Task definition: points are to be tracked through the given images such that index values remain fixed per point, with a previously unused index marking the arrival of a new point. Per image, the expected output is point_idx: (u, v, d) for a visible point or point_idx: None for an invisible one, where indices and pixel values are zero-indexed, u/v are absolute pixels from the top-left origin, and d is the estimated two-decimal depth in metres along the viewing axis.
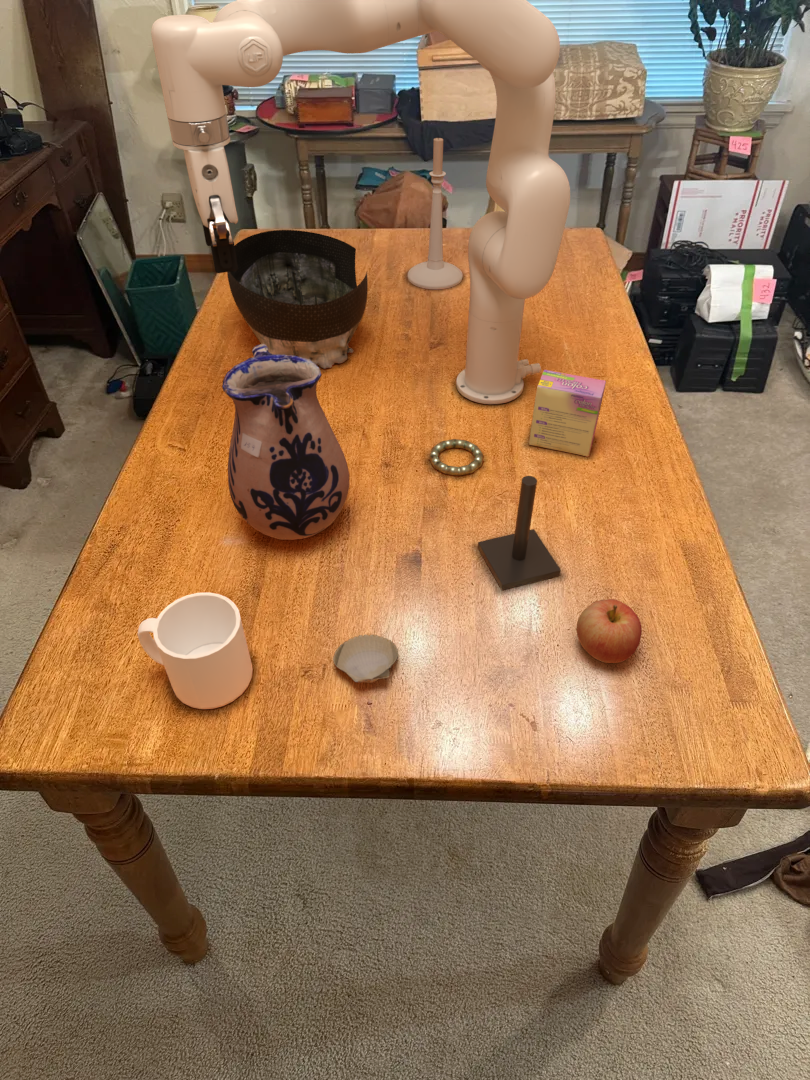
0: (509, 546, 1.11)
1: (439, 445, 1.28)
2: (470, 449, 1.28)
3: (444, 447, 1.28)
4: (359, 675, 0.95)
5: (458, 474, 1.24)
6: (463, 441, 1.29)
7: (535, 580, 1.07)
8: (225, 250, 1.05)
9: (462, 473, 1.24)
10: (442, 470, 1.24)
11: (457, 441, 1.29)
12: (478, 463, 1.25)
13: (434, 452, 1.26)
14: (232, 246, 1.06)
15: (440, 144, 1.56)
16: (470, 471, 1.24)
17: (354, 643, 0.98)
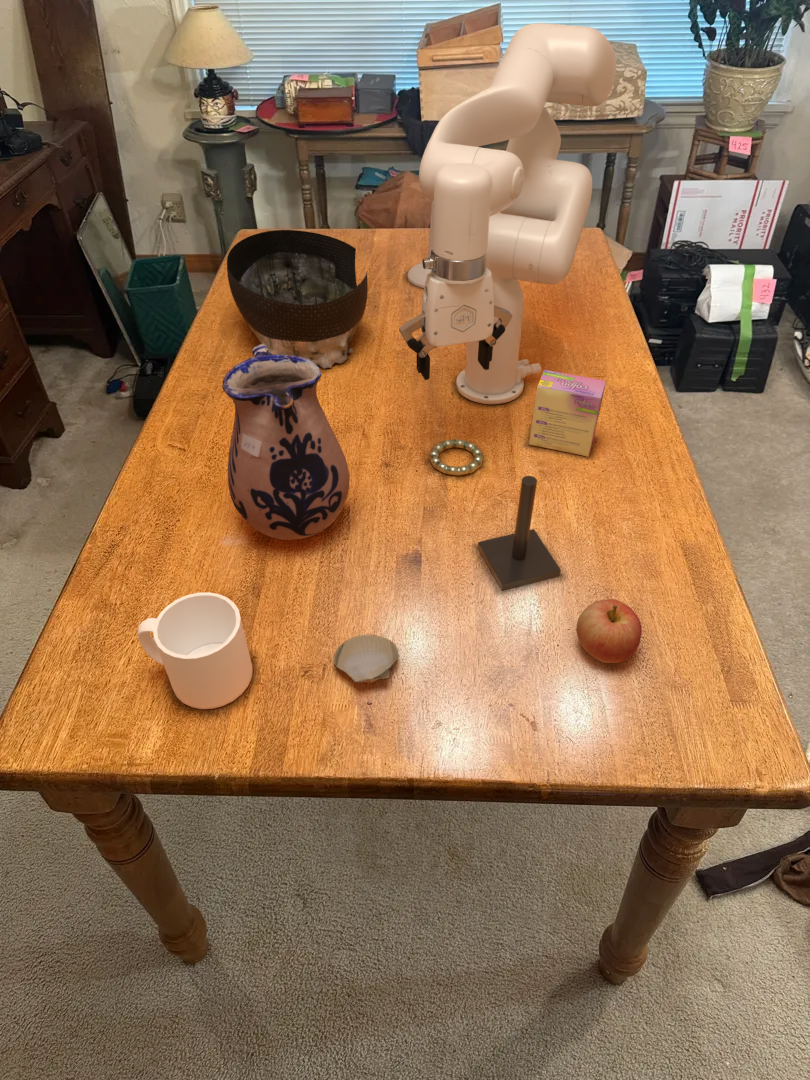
0: (509, 546, 1.11)
1: (439, 445, 1.28)
2: (470, 449, 1.28)
3: (444, 447, 1.28)
4: (359, 675, 0.95)
5: (458, 474, 1.24)
6: (463, 441, 1.29)
7: (535, 580, 1.07)
8: (418, 357, 1.14)
9: (462, 473, 1.24)
10: (442, 470, 1.24)
11: (457, 441, 1.29)
12: (478, 463, 1.25)
13: (434, 452, 1.26)
14: (425, 359, 1.13)
15: None
16: (470, 471, 1.24)
17: (354, 643, 0.98)
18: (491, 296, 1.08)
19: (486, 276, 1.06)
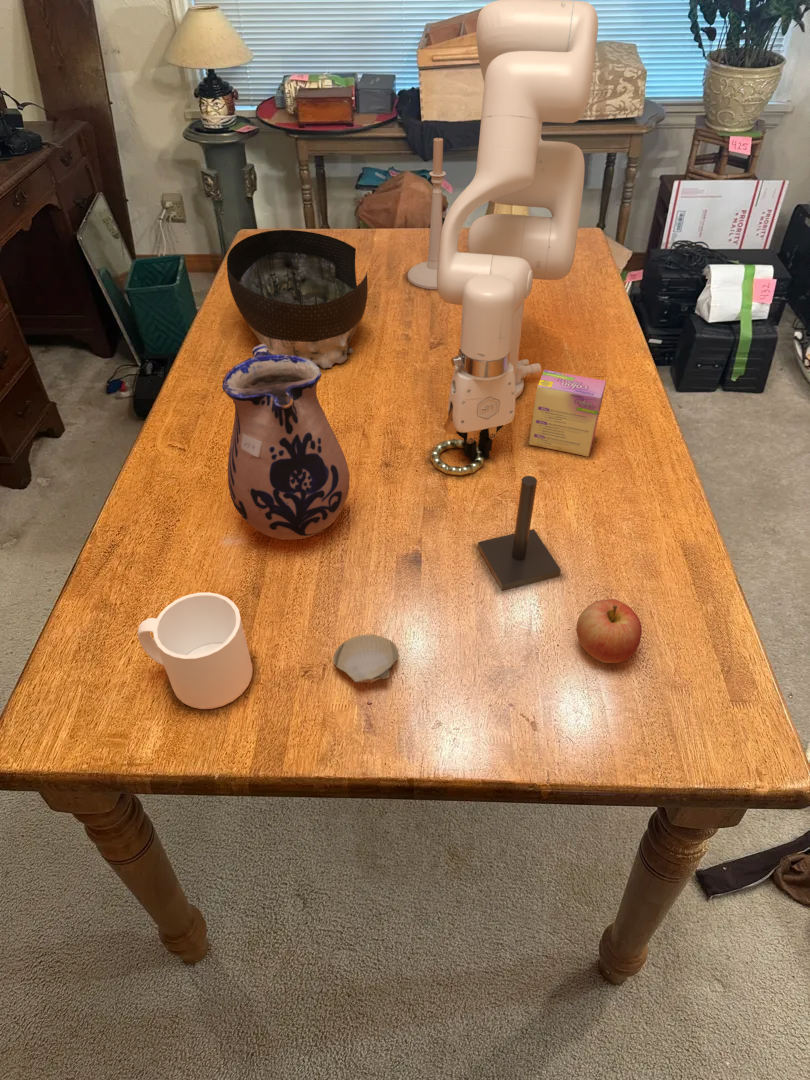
0: (509, 546, 1.11)
1: (440, 445, 1.28)
2: None
3: (445, 447, 1.28)
4: (359, 675, 0.95)
5: (459, 474, 1.24)
6: None
7: (535, 580, 1.07)
8: (466, 443, 1.25)
9: (463, 473, 1.24)
10: (443, 470, 1.24)
11: (458, 441, 1.29)
12: (479, 463, 1.25)
13: (435, 452, 1.26)
14: (472, 445, 1.24)
15: (440, 144, 1.56)
16: (471, 471, 1.24)
17: (354, 643, 0.98)
18: (514, 387, 1.17)
19: (509, 371, 1.15)
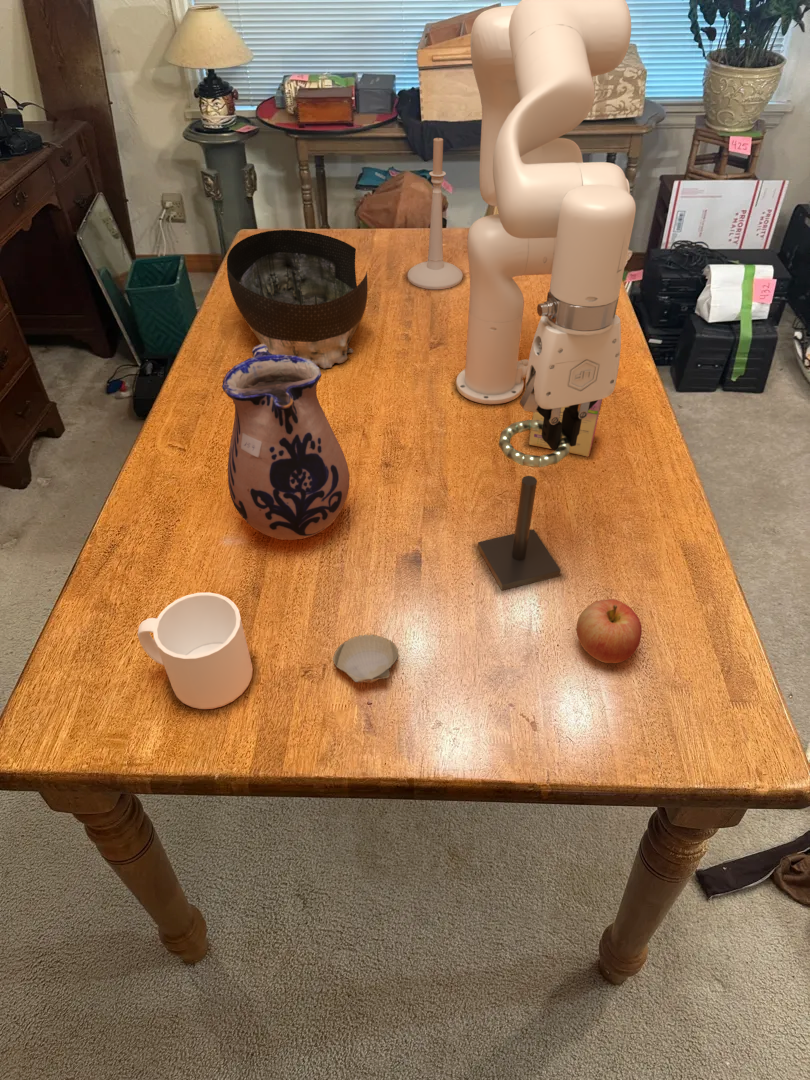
0: (509, 546, 1.11)
1: (511, 428, 0.97)
2: None
3: (517, 430, 0.97)
4: (359, 675, 0.95)
5: (539, 465, 0.93)
6: (542, 422, 0.98)
7: (535, 580, 1.07)
8: (547, 424, 0.94)
9: (545, 464, 0.93)
10: (518, 461, 0.93)
11: (534, 422, 0.98)
12: (565, 451, 0.94)
13: (505, 437, 0.95)
14: (556, 427, 0.93)
15: (440, 144, 1.56)
16: (555, 461, 0.93)
17: (354, 643, 0.98)
18: (619, 347, 0.87)
19: (615, 323, 0.84)
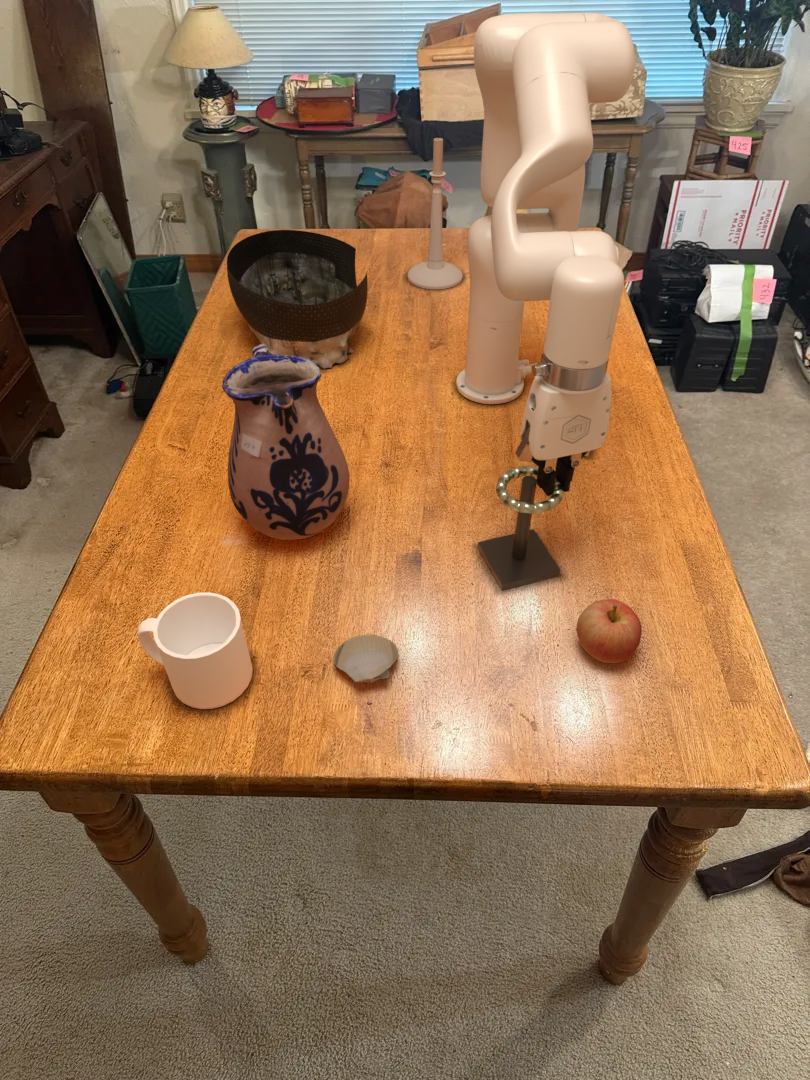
0: (509, 546, 1.11)
1: (507, 474, 1.02)
2: None
3: (513, 476, 1.02)
4: (359, 675, 0.95)
5: (534, 513, 0.97)
6: (537, 469, 1.02)
7: (535, 580, 1.07)
8: (541, 472, 0.99)
9: (539, 511, 0.97)
10: (514, 508, 0.98)
11: (529, 469, 1.03)
12: (559, 498, 0.98)
13: (502, 484, 1.00)
14: (550, 475, 0.98)
15: (440, 144, 1.56)
16: (549, 508, 0.98)
17: (354, 643, 0.98)
18: (609, 403, 0.91)
19: (605, 382, 0.89)
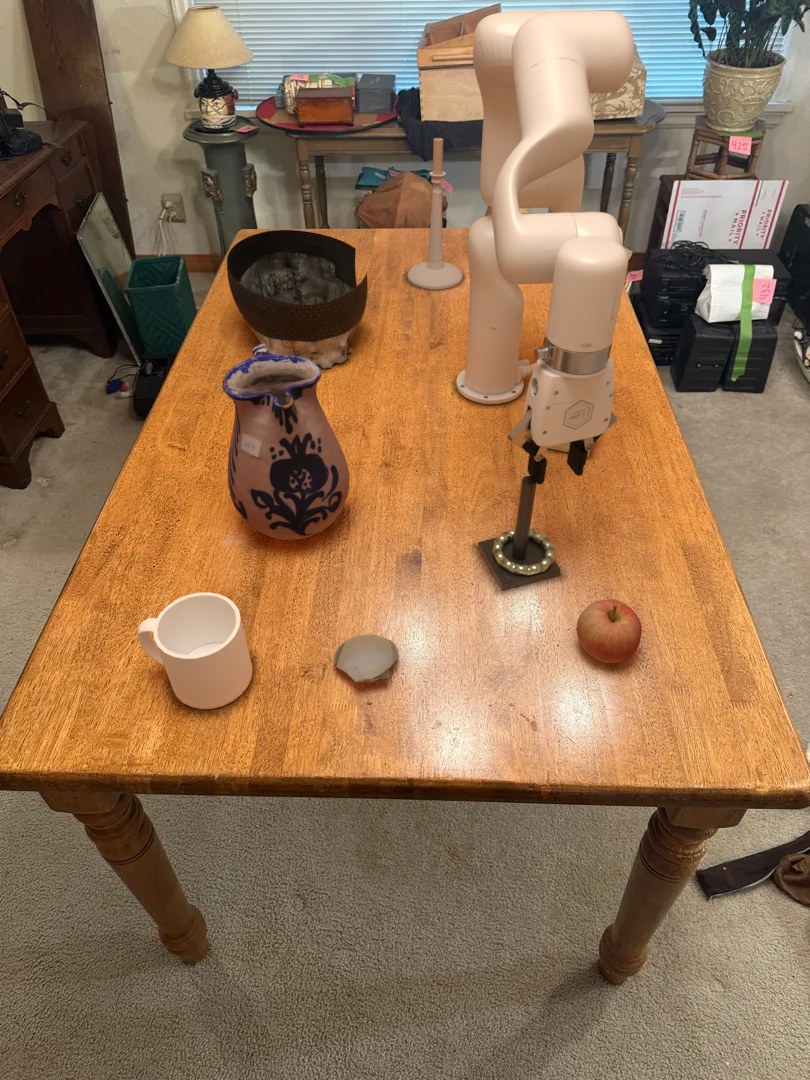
0: (509, 546, 1.11)
1: (503, 536, 1.10)
2: (539, 541, 1.10)
3: (509, 538, 1.11)
4: (359, 675, 0.95)
5: (528, 574, 1.06)
6: (530, 531, 1.11)
7: (535, 580, 1.07)
8: (532, 460, 0.97)
9: (532, 573, 1.06)
10: (509, 569, 1.06)
11: None
12: (550, 560, 1.07)
13: (498, 546, 1.09)
14: (541, 463, 0.96)
15: (440, 144, 1.56)
16: (542, 570, 1.06)
17: (354, 643, 0.98)
18: (612, 388, 0.90)
19: (609, 366, 0.88)
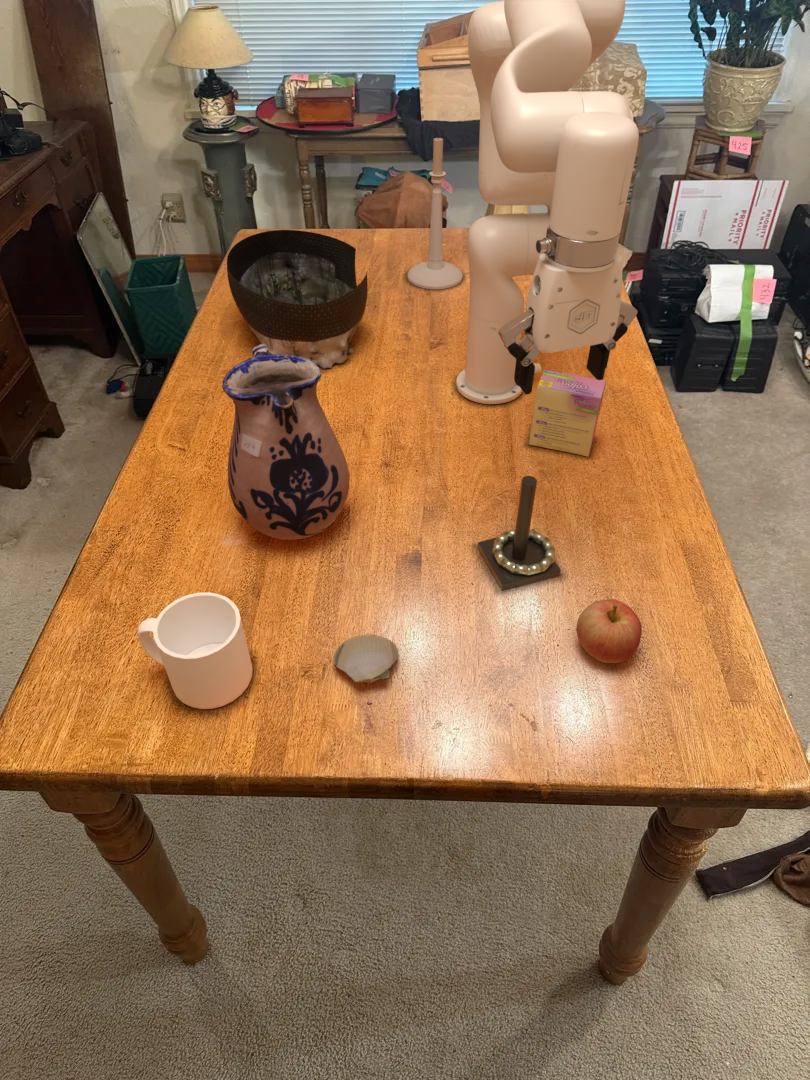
0: (509, 546, 1.11)
1: (503, 536, 1.10)
2: (539, 541, 1.10)
3: (509, 538, 1.11)
4: (359, 675, 0.95)
5: (528, 574, 1.06)
6: (530, 531, 1.11)
7: (535, 580, 1.07)
8: (519, 366, 0.90)
9: (532, 573, 1.06)
10: (509, 569, 1.06)
11: None
12: (550, 560, 1.07)
13: (498, 546, 1.09)
14: (528, 369, 0.89)
15: (440, 144, 1.56)
16: (542, 570, 1.06)
17: (354, 643, 0.98)
18: (620, 287, 0.84)
19: (616, 262, 0.82)
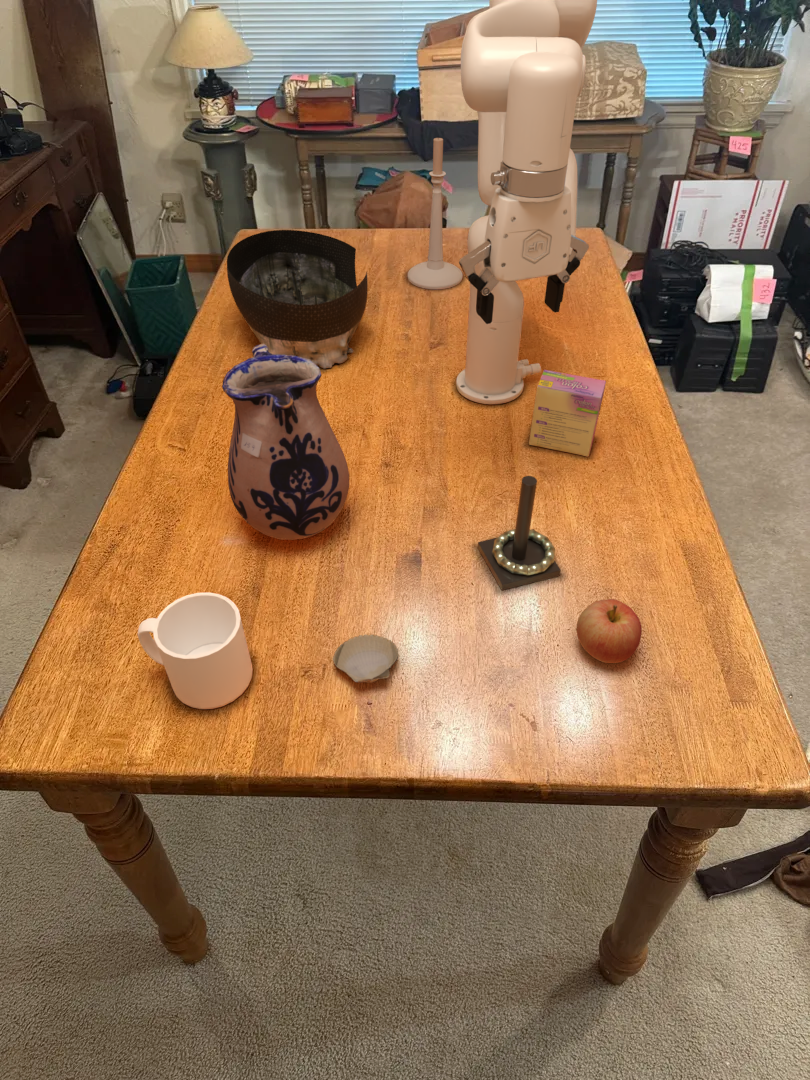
0: (509, 546, 1.11)
1: (503, 536, 1.10)
2: (539, 541, 1.10)
3: (509, 538, 1.11)
4: (359, 675, 0.95)
5: (528, 574, 1.06)
6: (530, 531, 1.11)
7: (535, 580, 1.07)
8: (480, 296, 0.97)
9: (532, 573, 1.06)
10: (509, 569, 1.06)
11: None
12: (550, 560, 1.07)
13: (498, 546, 1.09)
14: (488, 298, 0.96)
15: (440, 144, 1.56)
16: (542, 570, 1.06)
17: (354, 643, 0.98)
18: (570, 219, 0.91)
19: (565, 194, 0.89)
